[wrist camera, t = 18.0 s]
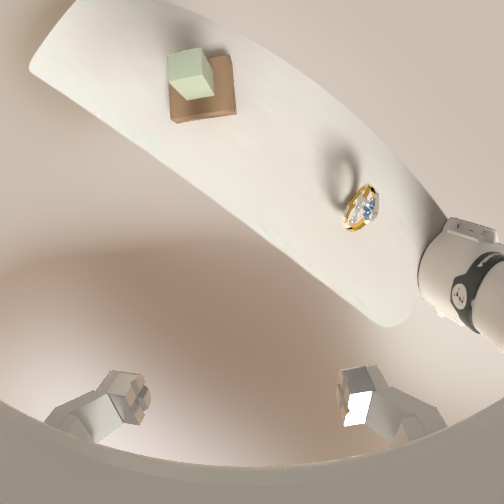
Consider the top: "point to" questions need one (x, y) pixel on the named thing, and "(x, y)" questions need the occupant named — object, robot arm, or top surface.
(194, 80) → the block
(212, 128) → the top surface
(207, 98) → the plinth
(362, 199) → the ring
